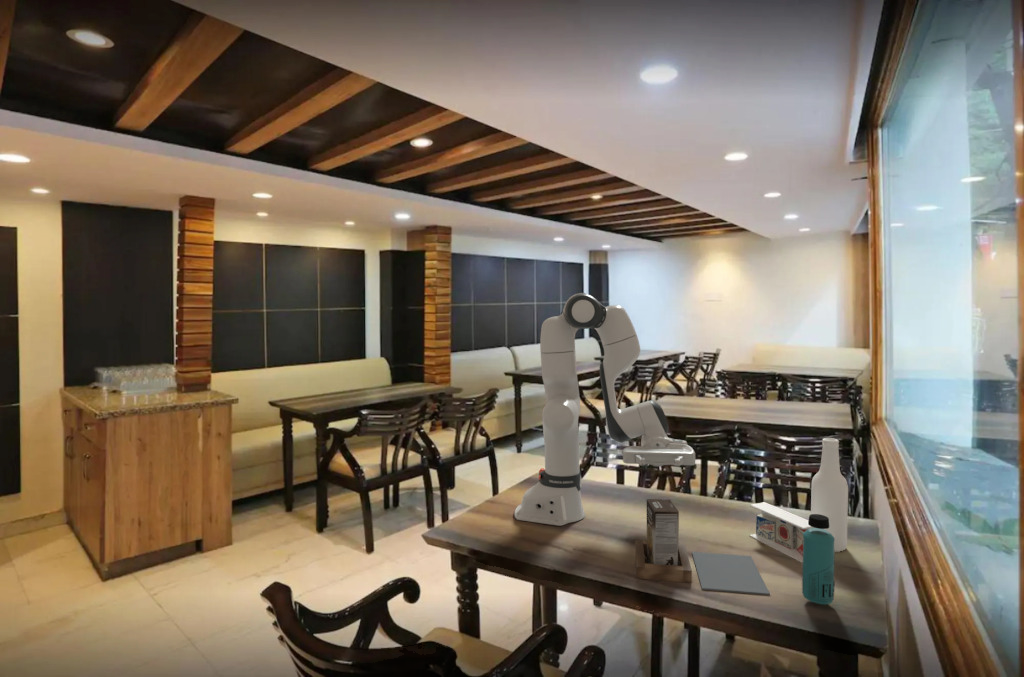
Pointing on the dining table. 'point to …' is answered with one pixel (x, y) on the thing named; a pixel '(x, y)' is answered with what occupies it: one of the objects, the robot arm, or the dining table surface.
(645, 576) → the walnut cradle
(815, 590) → the beverage bottle
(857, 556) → the dining table surface
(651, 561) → the coffee box
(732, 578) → the rubber mat
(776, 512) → the cigarette display
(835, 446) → the alcohol
